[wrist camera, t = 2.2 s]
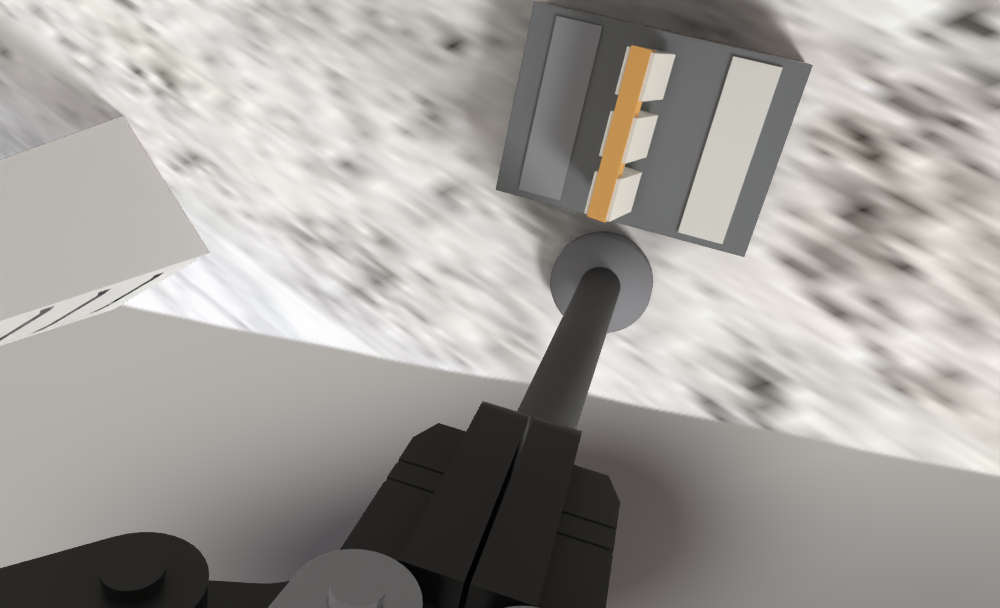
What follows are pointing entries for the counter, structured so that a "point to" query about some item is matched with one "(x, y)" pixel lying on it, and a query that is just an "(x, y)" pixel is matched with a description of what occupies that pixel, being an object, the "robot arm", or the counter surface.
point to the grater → (85, 229)
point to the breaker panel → (678, 131)
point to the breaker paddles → (628, 132)
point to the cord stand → (586, 320)
